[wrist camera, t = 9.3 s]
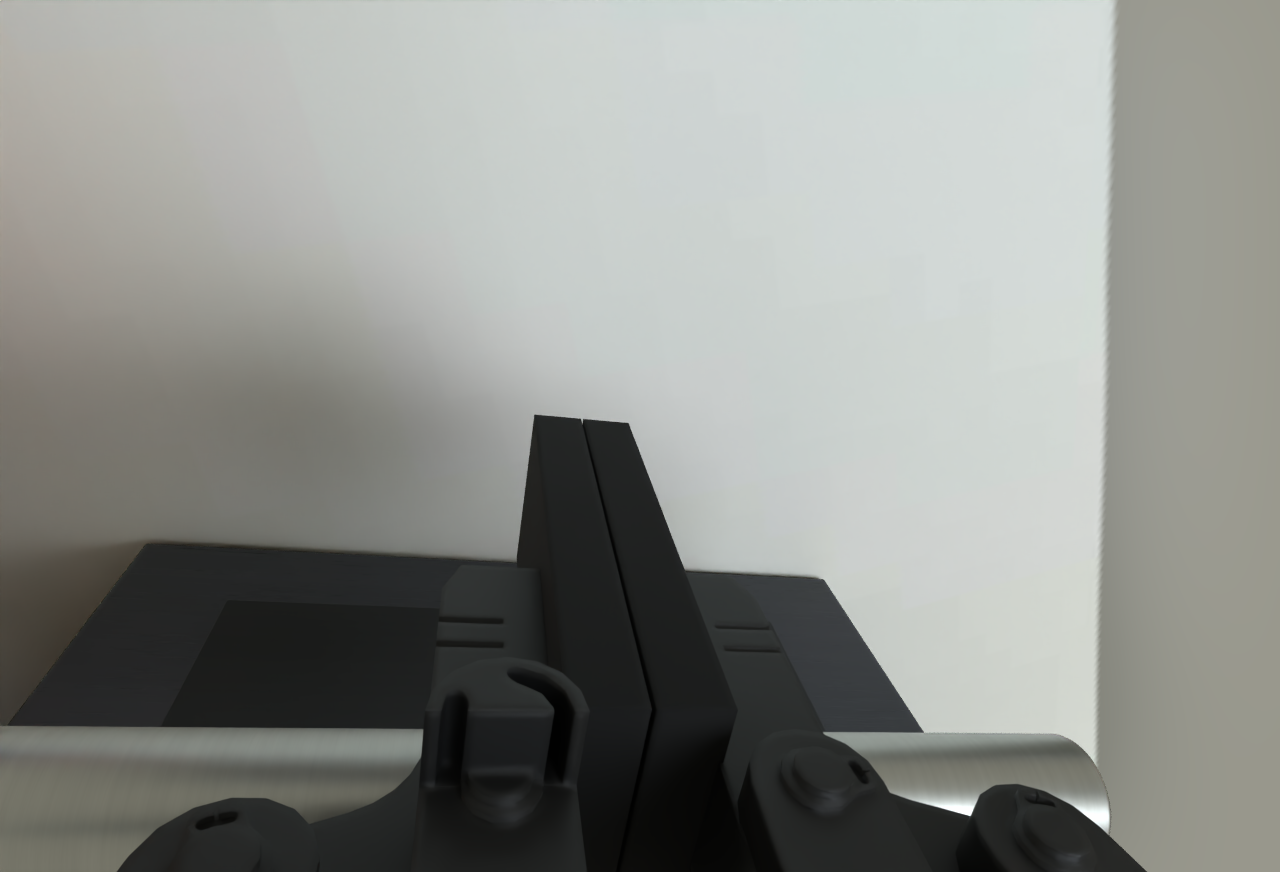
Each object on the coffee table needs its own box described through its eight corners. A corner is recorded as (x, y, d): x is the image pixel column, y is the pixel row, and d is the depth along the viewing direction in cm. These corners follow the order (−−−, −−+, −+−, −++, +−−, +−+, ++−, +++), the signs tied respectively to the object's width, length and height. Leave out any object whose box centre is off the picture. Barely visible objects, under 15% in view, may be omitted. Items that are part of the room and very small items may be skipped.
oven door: (129, 354, 19) (-889, 1101, 5) (870, 427, 24) (1427, 944, 9) (149, 591, 22) (-483, 1515, 8) (811, 618, 26) (1178, 1244, 12)
